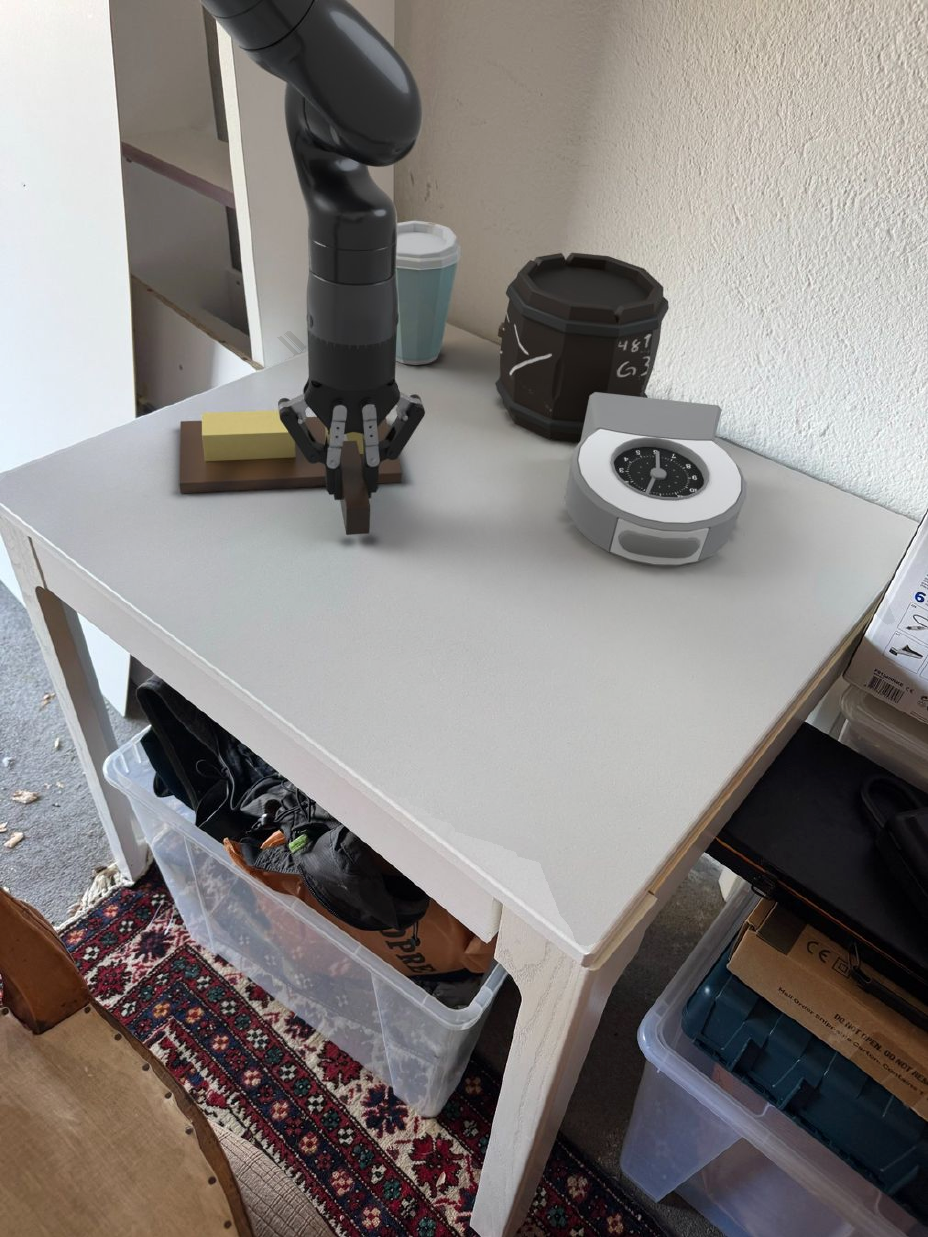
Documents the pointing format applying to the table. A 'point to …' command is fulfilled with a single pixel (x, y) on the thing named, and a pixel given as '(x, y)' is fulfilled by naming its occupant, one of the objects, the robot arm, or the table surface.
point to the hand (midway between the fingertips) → (351, 494)
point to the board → (260, 465)
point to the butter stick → (245, 436)
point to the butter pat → (356, 437)
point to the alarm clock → (653, 480)
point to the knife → (354, 491)
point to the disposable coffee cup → (423, 288)
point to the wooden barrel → (576, 339)
